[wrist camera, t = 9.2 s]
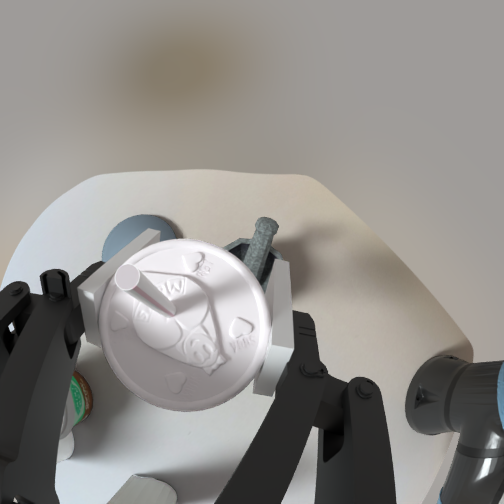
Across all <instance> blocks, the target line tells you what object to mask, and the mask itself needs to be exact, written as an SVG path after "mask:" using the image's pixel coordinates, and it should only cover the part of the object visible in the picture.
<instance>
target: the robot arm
mask: <svg viewBox="0 0 504 504" xmlns="http://www.w3.org/2000/svg"><path fill="white" fill-rule="evenodd" d="M160 232H161V231H158V230H154V229H150V228H148V229H147V230H145V231H144V232H143V233H141V234H140V235H139V236H138V237H136V238H135V239H134V240H133V241H131V242H130V243H129V244H128V245H126V246H125V247H124V248H123V249H122V250H120V251H119V252H118V253H117V254H115V255H114V256H113V257H112V258H111V259H110V260H108V261H107V262H103V261H99V262H97V263H94V264H92V265H91V266H89V267H88V268H87V269H86V270H85V271H83V272H82V273H81V275H79V276H77V277H76V278H75V279H74V280H73V281H72V282H70V281H69V275H68V273H67V272H66V271H64V270H61V269H51V270H47V271H45V272H43V273H42V274H41V275H40V281H41V286H42V291H43V295H39V294H33V293H30V288H29V286H28V284H27V283H25V282H22V281H16V282H13V283H10V284H9V285H7V286H6V287H5V288H4V289H3V290H2V291H0V504H60V503H59V499H58V496H57V494H56V491H55V473H56V462H57V454H58V446H59V439H60V433H61V427H62V421H63V416H64V411H65V406H66V401H67V397H68V392H69V388H70V384H71V380H72V376H73V372H74V368H75V365H76V361H77V358H78V354H79V351H80V347H81V340H80V337H81V335H82V334H83V333H84V332H85V335H86V340H87V342H89V343H91V344H94V345H96V346H98V347H101V348H102V345H101V340H100V334H99V312H100V307H101V302H102V299H103V296H104V293H105V290H106V288H107V286H108V284H109V282H110V280H111V279H112V277H113V276H114V274H115V273H116V271H117V269H118V268H119V267H120V266H121V265H123V264H124V263H125V262H126V261H127V260H128V259H129V258H130V257H131V256H133V255H134V254H136V253H137V252H139V251H140V250H142V249H144V248H146V247H148V246H150V245H153V244H155V243H158V242H160ZM265 296H266V299H267V303H268V307H269V311H270V319H271V333H270V338H269V343H268V347H267V352H266V356H265V359H264V362H263V364H262V366H261V368H260V370H259V371H258V373H257V374H256V376H255V377H254V386H253V393H254V394H260V395H265V396H271V397H272V396H273V393H274V391H275V389H276V391H275V399H274V401H273V403H272V405H271V407H270V409H269V411H268V413H267V415H266V417H265V419H264V421H263V423H262V424H261V426H260V428H259V430H258V432H257V434H256V435H255V437H254V439H253V441H252V443H251V444H250V446H249V448H248V450H247V451H246V453H245V455H244V457H243V458H242V460H241V462H240V463H239V465H238V467H237V468H236V470H235V472H234V473H233V475H232V477H231V478H230V480H229V481H228V483H227V485H226V486H225V488H224V489H223V491H222V492H221V494H220V495H219V497H218V498H217V500H216V501H215V503H214V504H281V502H282V500H283V498H284V496H285V493H286V491H287V489H288V487H289V484H290V482H291V480H292V477H293V475H294V473H295V470H296V468H297V465H298V463H299V460H300V458H301V455H302V453H303V450H304V448H305V445H306V442H307V440H308V437H309V434H310V431H311V428H312V426H315V427H317V428H319V431H318V458H317V477H316V491H315V503H314V504H396V491H395V480H394V470H393V462H392V454H391V447H390V440H389V434H388V428H387V422H386V416H385V411H384V405H383V400H382V395H381V391H380V389H379V387H378V386H377V385H376V383H375V382H373V381H372V380H370V379H368V378H365V377H355V378H353V379H352V380H351V381H350V382H349V383H347V382H344V381H342V380H339V379H337V378H334V377H332V376H331V375H329V374H328V370H327V368H326V366H325V365H324V364H323V363H322V362H321V361H320V358H319V351H318V344H317V338H316V331H315V324H314V321H313V319H312V318H311V316H310V315H309V314H308V313H303V312H298V311H294V310H292V296H291V281H290V267H289V262H287V261H283V260H279V259H275V261H274V264H273V268H272V271H271V275H270V278H269V282H268V285H267V289H266V292H265ZM11 323H13V326H14V331H12V332H10V330H9V327H8V326H9V325H10V324H11ZM405 412H406V418H407V421H408V423H409V425H410V426H411V428H412V429H413V430H415V431H416V432H418V433H421V434H425V435H437V434H440V433H446V432H451V431H454V432H459V433H460V437H459V441H458V445H457V448H456V451H455V455H454V458H453V461H452V464H451V467H450V470H449V472H448V475H447V478H446V481H445V483H444V486H443V487H442V489H441V491H440V494H439V499H438V502H437V504H504V360H503V361H493V362H481V363H468V362H466V361H464V360H461V359H458V358H457V357H454V356H449V355H446V356H437V357H434V358H431V359H430V360H428V361H427V362H425V363H424V364H423V365H422V366H421V367H420V369H419V370H418V371H417V373H416V374H415V376H414V377H413V379H412V381H411V384H410V386H409V389H408V392H407V396H406V403H405ZM14 498H16V500H17V502H18V503H16V502H13V501H14Z"/></svg>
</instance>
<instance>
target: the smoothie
mask: <svg viewBox="0 0 504 504" xmlns="http://www.w3.org/2000/svg"><path fill="white" fill-rule="evenodd" d="M270 333H271V319H270V311H269V307H268V303H267V299H266V296H265V294H264V292H263V289H262V287H261V285H260V284H259V282H258V280H257V279H256V277H255V276H254V274H253V273H252V272H251V271H250V269H249V268H248V267H247V266H246V265H245V264H244V263H243V262H242V261H241V260H240V259H238V258H237V257H236V256H235V255H233V254H232V253H230V252H229V251H227V250H225V249H223V248H221V247H219V246H217V245H214V244H211V243H208V242H205V241H200V240H194V239H172V240H166V241H162V242H158V243H155V244H153V245H150V246H148V247H146V248H144V249H142V250H140V251H139V252H137V253H136V254H134V255H133V256H131V257H130V258H129V259H128V260H127V261H126V262H125V263H124V264H123V265H121V266H120V267H119V268H118V269H117V271H116V273H115V274H114V276H113V277H112V279H111V280H110V282H109V284H108V286H107V288H106V290H105V293H104V296H103V299H102V302H101V307H100V312H99V334H100V340H101V345H102V348H103V352H104V355H105V357H106V359H107V362H108V363H109V365H110V367H111V369H112V371H113V372H114V374H115V375H116V376H117V378H118V379H119V380H120V381H121V382H122V384H123V385H124V386H125V387H126V388H127V389H129V390H130V391H131V392H132V393H133V394H135V395H136V396H138V397H139V398H141V399H142V400H144V401H146V402H148V403H150V404H152V405H155V406H157V407H160V408H164V409H168V410H173V411H182V412H190V411H200V410H205V409H209V408H213V407H215V406H218V405H221V404H223V403H225V402H227V401H228V400H230V399H232V398H233V397H235V396H236V395H237V394H239V393H240V392H241V391H242V390H244V389H245V388H246V387H247V386H248V385H249V383H250V382H251V381H252V380H253V379H254V377H255V376H256V374H257V373H258V371H259V370H260V368H261V366H262V364H263V362H264V359H265V356H266V352H267V347H268V343H269V338H270Z"/></svg>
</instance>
